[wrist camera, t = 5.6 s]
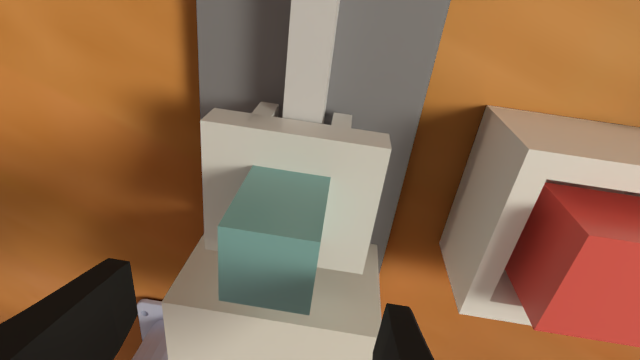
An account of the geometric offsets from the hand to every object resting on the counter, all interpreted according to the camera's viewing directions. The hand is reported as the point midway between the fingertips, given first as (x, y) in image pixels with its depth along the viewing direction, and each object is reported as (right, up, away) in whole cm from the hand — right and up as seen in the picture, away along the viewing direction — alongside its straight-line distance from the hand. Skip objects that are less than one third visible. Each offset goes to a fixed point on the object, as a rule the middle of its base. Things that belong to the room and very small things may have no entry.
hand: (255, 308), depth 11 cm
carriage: (+1, +4, +7) cm, 8 cm away
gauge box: (+13, +3, +8) cm, 16 cm away
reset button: (+13, +1, +5) cm, 14 cm away
